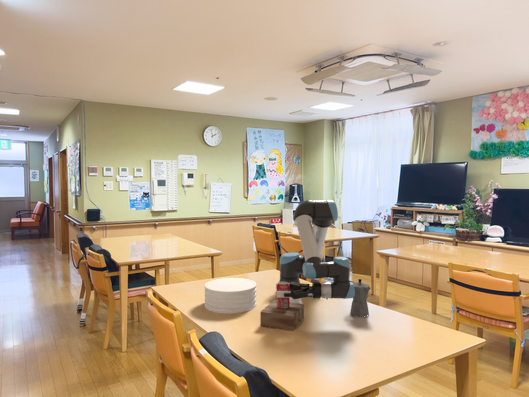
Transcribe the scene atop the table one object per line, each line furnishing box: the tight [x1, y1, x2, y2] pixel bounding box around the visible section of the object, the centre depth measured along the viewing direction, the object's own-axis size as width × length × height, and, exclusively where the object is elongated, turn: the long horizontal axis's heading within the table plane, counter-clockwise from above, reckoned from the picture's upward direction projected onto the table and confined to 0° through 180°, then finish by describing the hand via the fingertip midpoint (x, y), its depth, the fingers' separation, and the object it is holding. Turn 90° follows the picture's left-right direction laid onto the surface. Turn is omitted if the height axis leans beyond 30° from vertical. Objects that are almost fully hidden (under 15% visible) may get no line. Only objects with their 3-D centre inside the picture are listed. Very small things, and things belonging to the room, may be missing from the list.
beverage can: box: [276, 281, 290, 309], centre depth 183 cm, size 6×6×12 cm
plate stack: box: [204, 277, 257, 315], centre depth 209 cm, size 28×28×12 cm
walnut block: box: [259, 300, 305, 332], centre depth 183 cm, size 18×16×7 cm
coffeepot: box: [349, 278, 372, 318], centre depth 195 cm, size 15×9×18 cm, turn 33°
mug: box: [290, 298, 303, 304], centre depth 201 cm, size 12×10×8 cm
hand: (276, 290), depth 182 cm, fingers open, 13 cm apart
